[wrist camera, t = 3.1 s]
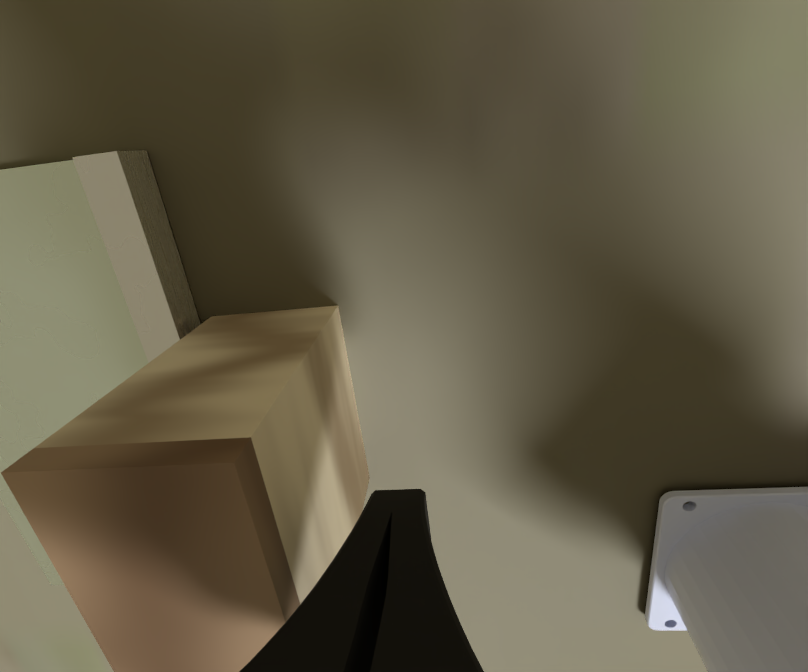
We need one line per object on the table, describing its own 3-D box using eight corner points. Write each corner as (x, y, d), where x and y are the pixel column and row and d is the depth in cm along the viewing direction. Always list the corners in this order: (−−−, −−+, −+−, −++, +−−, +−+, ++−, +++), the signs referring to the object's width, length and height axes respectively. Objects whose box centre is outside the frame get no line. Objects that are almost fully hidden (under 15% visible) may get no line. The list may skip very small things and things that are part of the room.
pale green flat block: (146, 150, 15) (116, 150, 14) (279, 577, 23) (268, 605, 21) (-168, 193, 17) (-224, 197, 15) (55, 580, 24) (31, 606, 23)
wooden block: (338, 305, 17) (234, 462, 8) (369, 477, 20) (315, 715, 12) (212, 316, 17) (0, 472, 9) (261, 481, 20) (136, 710, 12)
